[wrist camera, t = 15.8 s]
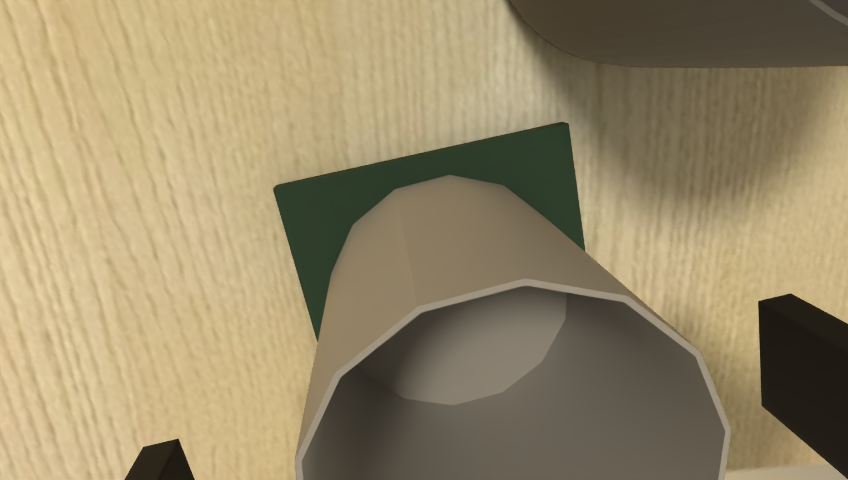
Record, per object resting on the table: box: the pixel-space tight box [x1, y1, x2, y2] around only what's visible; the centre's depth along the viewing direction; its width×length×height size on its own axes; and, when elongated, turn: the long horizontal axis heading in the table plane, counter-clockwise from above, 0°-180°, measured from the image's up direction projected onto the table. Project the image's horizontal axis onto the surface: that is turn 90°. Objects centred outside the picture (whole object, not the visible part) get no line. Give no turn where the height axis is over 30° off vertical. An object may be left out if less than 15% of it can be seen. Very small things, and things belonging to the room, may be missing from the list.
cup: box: [295, 175, 732, 480], centre depth 16 cm, size 8×8×10 cm
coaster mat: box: [273, 122, 585, 342], centre depth 21 cm, size 10×10×1 cm
